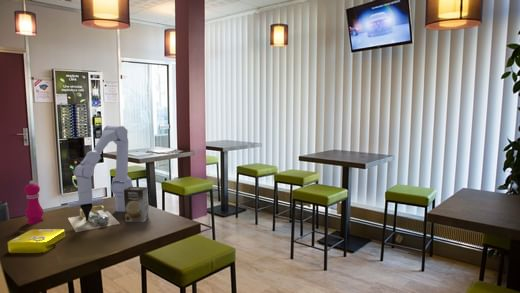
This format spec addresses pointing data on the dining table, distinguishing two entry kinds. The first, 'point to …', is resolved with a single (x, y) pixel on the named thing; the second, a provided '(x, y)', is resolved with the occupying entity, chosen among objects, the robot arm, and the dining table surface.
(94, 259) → the dining table surface
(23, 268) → the dining table surface
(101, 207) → the tan wooden arch piece
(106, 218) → the grey long bar
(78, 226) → the board
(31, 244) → the element tile
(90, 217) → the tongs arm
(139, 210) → the coffee box
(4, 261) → the dining table surface
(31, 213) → the pepper mill
